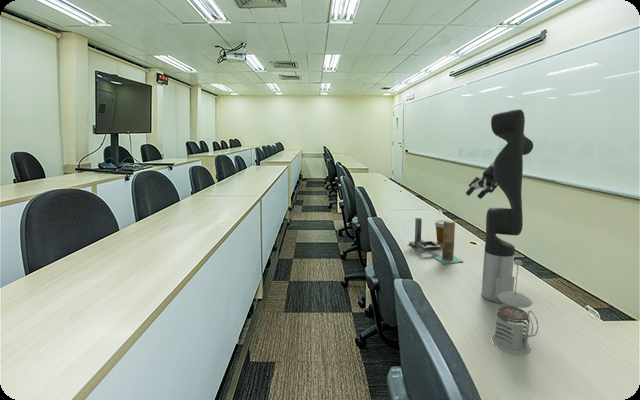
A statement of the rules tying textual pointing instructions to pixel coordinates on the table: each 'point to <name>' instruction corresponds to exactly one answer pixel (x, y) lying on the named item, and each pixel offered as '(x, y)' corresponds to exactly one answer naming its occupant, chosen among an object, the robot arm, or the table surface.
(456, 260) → the felt coaster
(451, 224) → the walnut rod
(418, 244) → the ring stand
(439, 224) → the disposable coffee cup
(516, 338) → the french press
